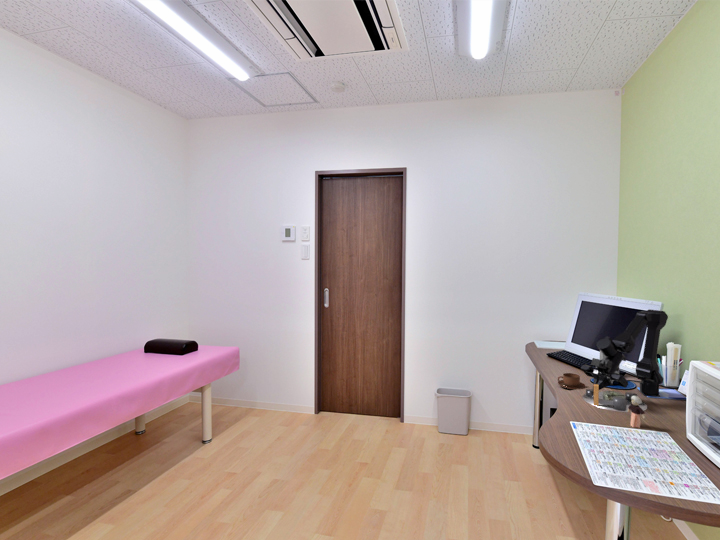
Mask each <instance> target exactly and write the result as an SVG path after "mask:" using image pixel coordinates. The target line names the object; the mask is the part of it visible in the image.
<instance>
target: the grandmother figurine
mask: <svg viewBox="0 0 720 540" xmlns="http://www.w3.org/2000/svg"><path fill="white" fill-rule="evenodd" d="M631 399H632V404H631V405H630V406H629V407H628V410H627V411H628V412H627V413H630V427H631V426H632V428H639V429H640V428H641V417H642V419H644V420H646V419H647V417H646V414H645V413H646V412H644V411H645V410H644V411H643V410H642V409H641V408H640V407H639V406H638V405H639V404H640V403H642V402H643V401H642V399H641V398H640V397H639V396H638V395H637V396H632V397H631Z"/></svg>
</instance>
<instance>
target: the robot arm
mask: <svg viewBox="0 0 720 540" xmlns="http://www.w3.org/2000/svg"><path fill="white" fill-rule="evenodd" d="M668 318H669V315H668V314H667V313H666V311H664V310H657V309H648V310H646V311H644V310H642V311H637V312H636V314H635V317H634V318H633V320H632V321H631V322H630V323H629V325H628V326H627V327H626V329H625V330H624V332H623V333H619V334H618V335H617V336H615V338H614V339H612V338H611V337H610V336H605V337H604V338H601V339H599V340H598V341H597V342H596V347H597V349H598V350H599V352H600V351H601V352H602V353H603V354H604V355H605V356H607V357H606V358H605V360H603V359H602V360H600V358H595V357H593V358H592V360H591V362H590V365H588V364H582V366H581V367H580V369H581V371H582V372H583V373H584V374H585V375H586V376H587V377H590V378H593V385H592V389H593V391H594V384H597V385H599V391H600V390H602V389H604V388H607V387H610V386H613V385H614V384H613V382H614V381H615V382H617V383H618V386H619V387H622V388H625V389H626V388H627V387H628V385H629V382H628V380H627V379H626V377H625V376H624V375H623V374H620V373H619V374H617V373H615V371H619V372H620V368H619V369H618V366H619V367H620V364H621V363H622V362H623V361H624V362H626V361H627V358H626V355H625V354H630V353H632V351H633V350H634V348H635V346H636V341H635V340H636V339H637V337H638V336H639V334H640V333H641V331H642V330H643V329H644V328H645V326H646V329H647V330H646V335H645V342H644V348H643V354H642V359H640V360H637V362H636V366H635V374H636V377H637V380H640V382H639V392H640V393H641V394H642V395H643V396H648V397H661V394H660V385H662V384H663V383H664V377H663V376H662V374H661V373H660V367H659V365H658V362H657V355H658V347H659V343H660V342H659V341H660V336H661V331H662V329H663V328H664V327H665V326H666V324H667V321H668ZM623 353H625V354H623ZM593 366H594V367H595V368H594V367H593Z"/></svg>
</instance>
